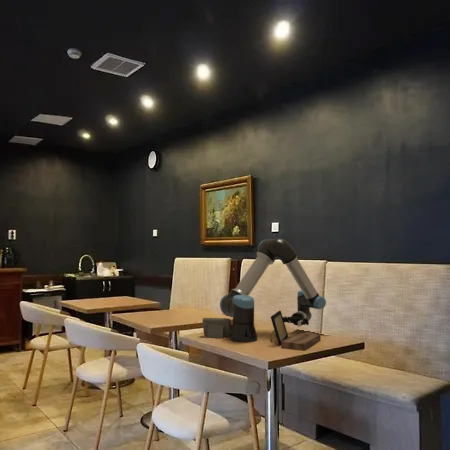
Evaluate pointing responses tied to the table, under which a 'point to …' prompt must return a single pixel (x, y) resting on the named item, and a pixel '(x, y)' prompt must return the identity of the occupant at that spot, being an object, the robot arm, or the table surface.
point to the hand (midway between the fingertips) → (286, 323)
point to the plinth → (300, 341)
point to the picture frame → (278, 328)
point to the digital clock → (216, 327)
